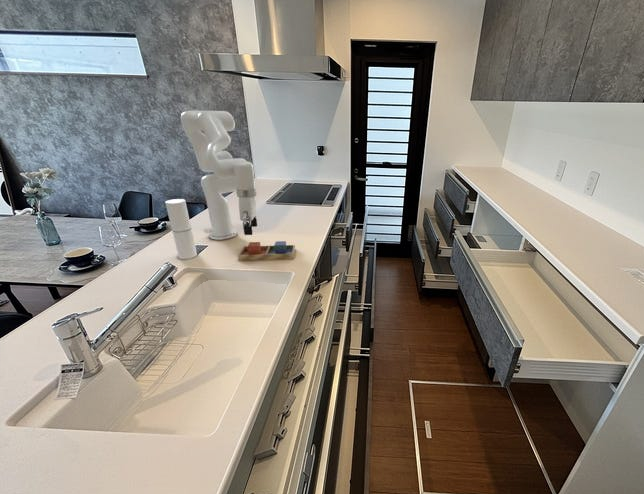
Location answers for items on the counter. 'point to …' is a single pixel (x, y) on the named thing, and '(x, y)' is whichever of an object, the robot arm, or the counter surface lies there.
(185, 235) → the cylindrical container
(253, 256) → the tray
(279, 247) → the blue block
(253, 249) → the red block
